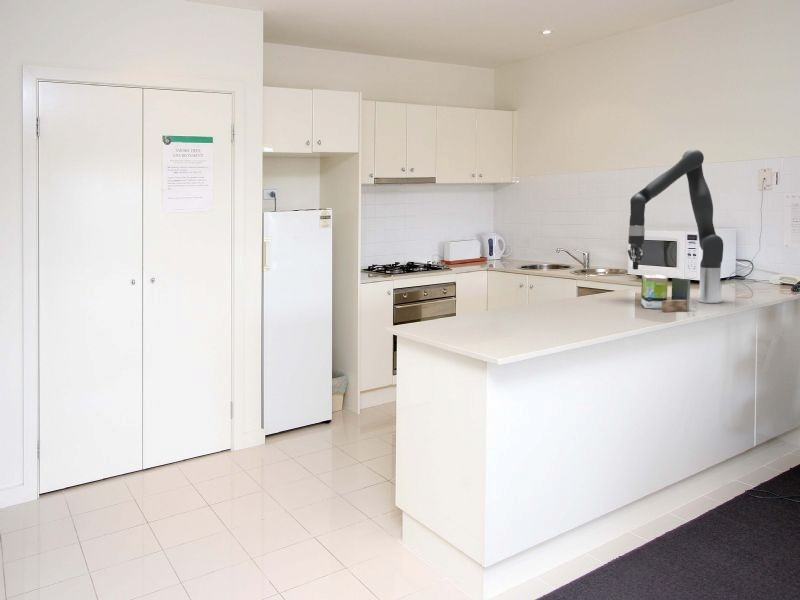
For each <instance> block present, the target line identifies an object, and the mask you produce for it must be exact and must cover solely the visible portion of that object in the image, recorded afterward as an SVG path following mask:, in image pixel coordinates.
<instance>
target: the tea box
mask: <svg viewBox="0 0 800 600" xmlns="http://www.w3.org/2000/svg"><path fill="white" fill-rule="evenodd" d="M668 282H669V278H668V277H667V276H665V275H664V274H642V275H641V290H640V291H641V292H640V294H641V297H640V304H641V305H642V306H643V307H644V308H645V309H662V301H668V299H667V298H668V286H669V285H668V284H669V283H668Z"/></svg>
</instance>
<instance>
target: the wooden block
mask: <svg viewBox="0 0 800 600" xmlns="http://www.w3.org/2000/svg"><path fill="white" fill-rule="evenodd" d="M672 312H673V313H674V312H676V313H677V312H688V311H687V300H667V301H662V308H661V313H672Z"/></svg>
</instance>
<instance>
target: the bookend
mask: <svg viewBox="0 0 800 600" xmlns="http://www.w3.org/2000/svg"><path fill="white" fill-rule="evenodd" d="M690 295H691V280H690V279H686V278H685V279H684V278H678V277H671V300H687V311H686V312H690V298H691V296H690Z"/></svg>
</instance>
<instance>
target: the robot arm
mask: <svg viewBox="0 0 800 600" xmlns="http://www.w3.org/2000/svg"><path fill="white" fill-rule="evenodd" d="M681 157H682V158H681V159H680V160H679V161H678V162H677V163H676V164H674V165H673V166H672V167H671V168H669V169H668V170H666V171H665V172H663V173H661V174H660V175H658V177H656V178H654V179H653V180H652V181H650V182H649V183H648V184H647V185H646V186H645V187H644V188H642V189H641V190H639V191H638V192H637V193H634V194H633V195H632V196H631V198H630V200H629V201H630V202H629V203H630V216H629V227H628V240H627V241H628V245H630V247H629V248H630V249H628V250H627V253H628V256H629V260H630V261H631V262H632V270H638V269H639V263H640V262H641V261H642V259H643V257H644V254H645V251H643V245H644V244H645V222H646V220H645V211H646V204H647V203H648V202H650V201H651V200H652V199H653V198H656V197H657V196H658V195H661V193H662V192H663V191H665V190H666V189H668V188H669V187H670V186H671V185H673V183H675V182H676V181H678V180H679V179H680V178H682V177H683V176H684V175H685V176H686V178H687V184H688V191H689V197H690V198H689V199H690V202H691V207H692V211H693V214H694V219H695V222H696V225H697V233H698V234H697V235H698V241H699V242H698V243H699V247H700V249H701V251H702V259H701V261H700V264H699V265H700V266H699V268H700V269H699V291H698V292H699V293H698V302H699V303H705V304H717V303H722V291H723V283H722V282H721V271H722V263H723V257H724V241H723V239H722V237H721V236H719V235H717V234H716V230H715V226H714V222H713V221H714V204H713V199H712V194H711V191H710V188H709V186H708V184H707V181H706V179H705V176H704V170H703V163H704V159H705V158H704V154H703V152H702V151H700V150H698V149H693V148H692V149H689V150H687V151H685V152H684V154H683V155H682V156H681Z"/></svg>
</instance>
